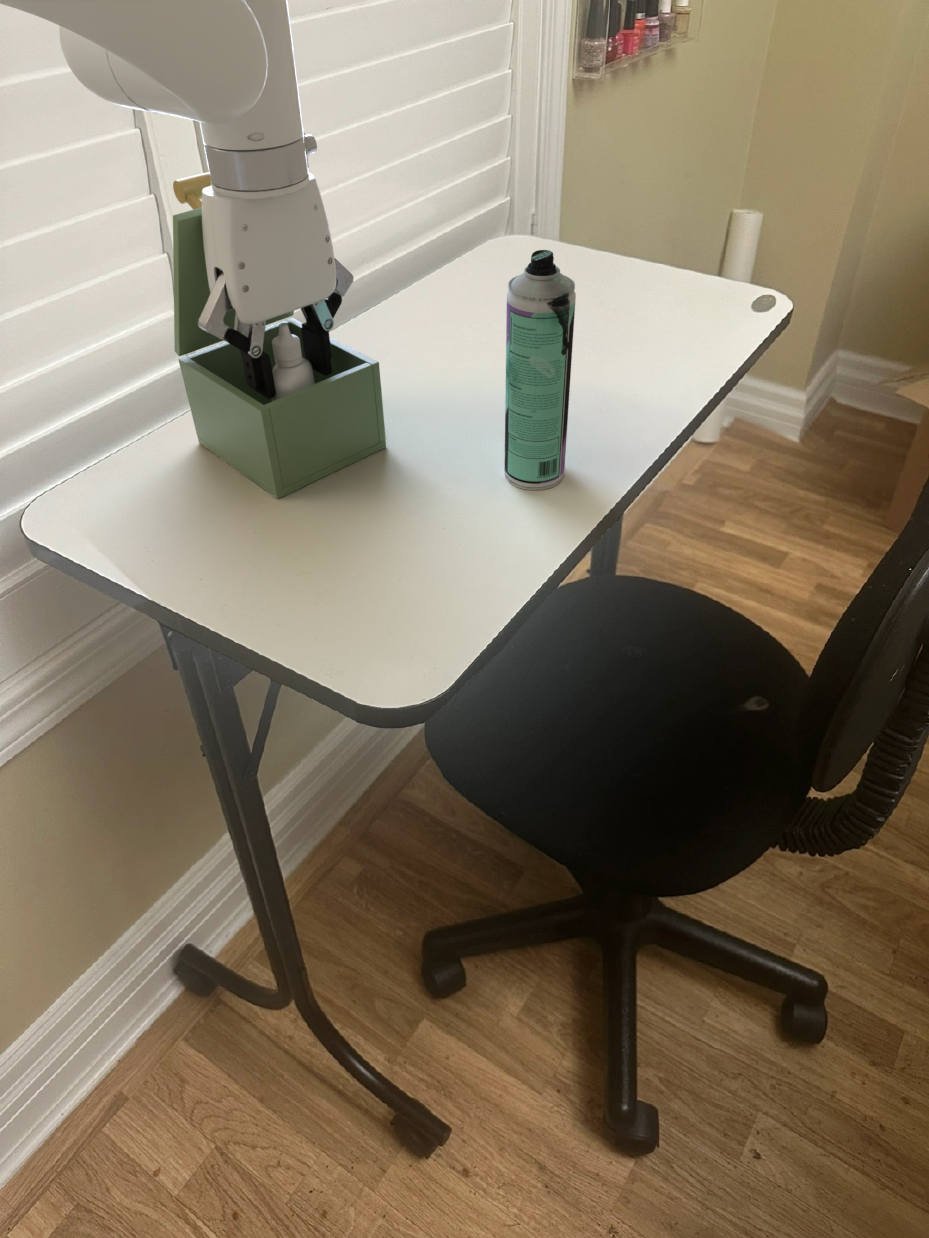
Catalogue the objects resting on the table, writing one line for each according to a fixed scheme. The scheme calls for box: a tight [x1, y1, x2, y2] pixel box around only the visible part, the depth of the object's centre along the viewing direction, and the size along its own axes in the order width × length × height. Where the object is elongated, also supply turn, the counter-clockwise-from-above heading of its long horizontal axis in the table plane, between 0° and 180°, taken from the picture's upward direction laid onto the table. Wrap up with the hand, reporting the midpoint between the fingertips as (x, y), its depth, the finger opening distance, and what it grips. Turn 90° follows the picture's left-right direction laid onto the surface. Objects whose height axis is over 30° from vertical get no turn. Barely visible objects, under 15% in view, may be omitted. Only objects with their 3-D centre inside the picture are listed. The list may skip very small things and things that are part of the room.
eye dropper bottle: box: [272, 323, 315, 401], centre depth 82 cm, size 4×6×12 cm
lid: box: [172, 171, 295, 357], centre depth 80 cm, size 14×13×6 cm
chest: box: [178, 317, 387, 500], centre depth 85 cm, size 14×13×9 cm
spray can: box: [504, 249, 577, 491], centre depth 76 cm, size 6×6×20 cm
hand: (291, 379), depth 81 cm, fingers closed on eye dropper bottle, 5 cm apart
